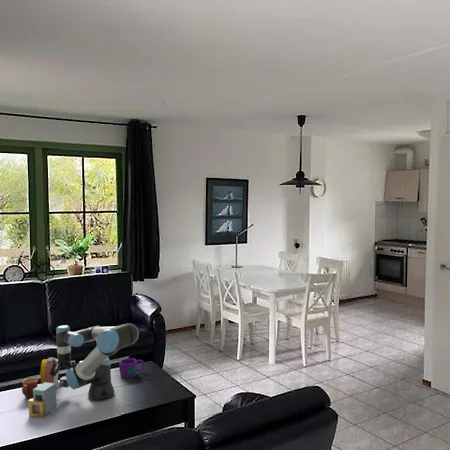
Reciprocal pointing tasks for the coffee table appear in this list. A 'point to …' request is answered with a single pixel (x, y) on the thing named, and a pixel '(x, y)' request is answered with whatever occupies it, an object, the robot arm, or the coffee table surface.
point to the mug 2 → (129, 367)
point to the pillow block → (46, 397)
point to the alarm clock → (47, 370)
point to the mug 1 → (29, 387)
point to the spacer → (32, 408)
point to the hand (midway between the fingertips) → (65, 387)
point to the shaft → (62, 383)
